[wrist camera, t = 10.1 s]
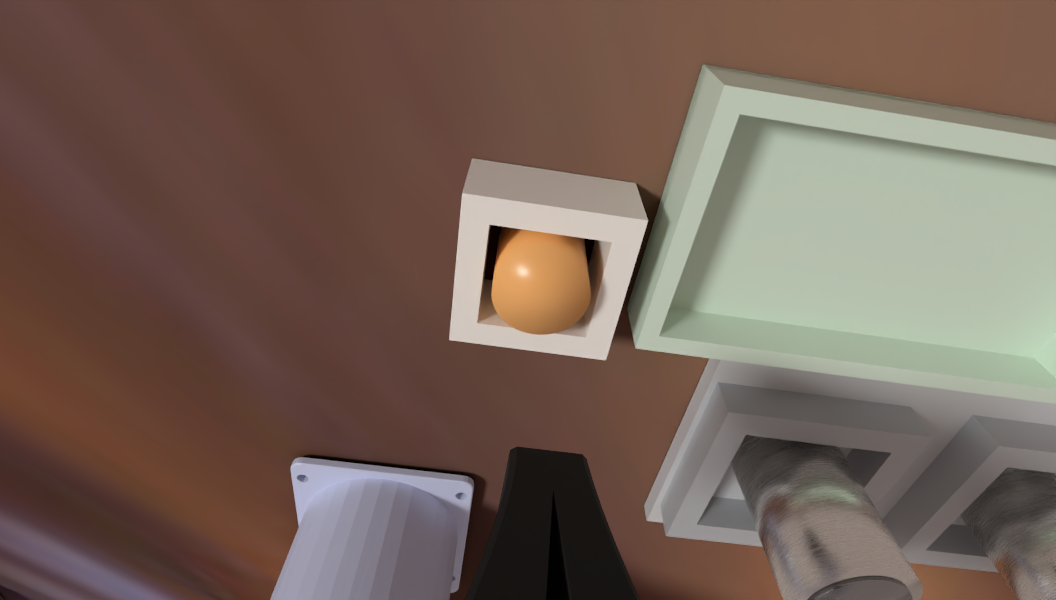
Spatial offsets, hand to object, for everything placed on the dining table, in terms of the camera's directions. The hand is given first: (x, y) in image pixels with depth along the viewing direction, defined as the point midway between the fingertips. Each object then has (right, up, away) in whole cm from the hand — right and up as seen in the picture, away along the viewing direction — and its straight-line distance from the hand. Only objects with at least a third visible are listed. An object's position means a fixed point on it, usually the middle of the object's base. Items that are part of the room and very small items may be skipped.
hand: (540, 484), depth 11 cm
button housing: (0, +5, +8) cm, 9 cm away
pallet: (+15, -3, +13) cm, 20 cm away
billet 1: (+10, -3, +12) cm, 16 cm away
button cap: (0, +5, +8) cm, 9 cm away
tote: (+11, +5, +7) cm, 15 cm away
